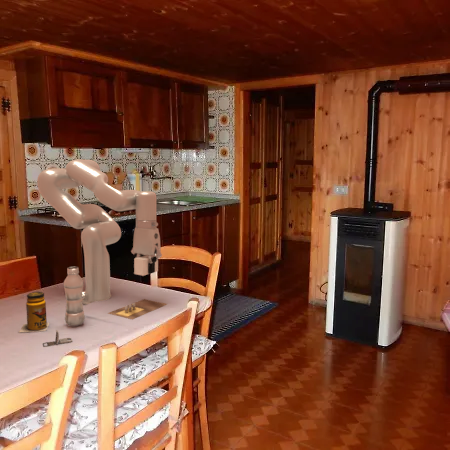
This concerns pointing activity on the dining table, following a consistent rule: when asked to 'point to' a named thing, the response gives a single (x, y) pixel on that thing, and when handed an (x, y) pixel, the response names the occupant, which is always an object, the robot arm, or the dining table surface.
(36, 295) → the condiment
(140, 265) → the block
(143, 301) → the board
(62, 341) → the strap clip
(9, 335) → the dining table surface
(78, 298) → the plastic bottle
